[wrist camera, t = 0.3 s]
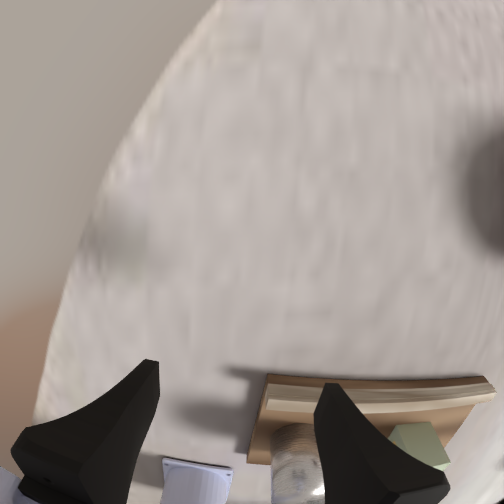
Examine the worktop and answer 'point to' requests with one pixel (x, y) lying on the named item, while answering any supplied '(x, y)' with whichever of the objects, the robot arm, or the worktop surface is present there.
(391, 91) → the worktop surface
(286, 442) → the metal can
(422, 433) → the tea box
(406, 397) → the shelf board
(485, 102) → the worktop surface
